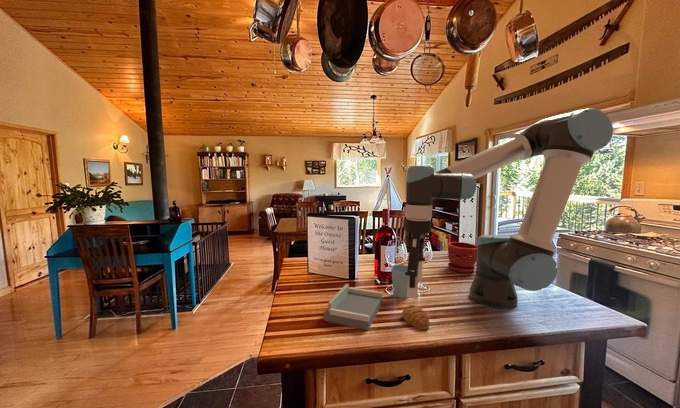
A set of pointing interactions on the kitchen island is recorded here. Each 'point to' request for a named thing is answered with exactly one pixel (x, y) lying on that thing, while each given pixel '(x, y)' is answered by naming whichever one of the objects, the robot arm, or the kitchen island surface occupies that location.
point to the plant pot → (462, 256)
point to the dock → (354, 307)
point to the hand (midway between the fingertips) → (414, 288)
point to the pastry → (416, 317)
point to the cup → (399, 280)
